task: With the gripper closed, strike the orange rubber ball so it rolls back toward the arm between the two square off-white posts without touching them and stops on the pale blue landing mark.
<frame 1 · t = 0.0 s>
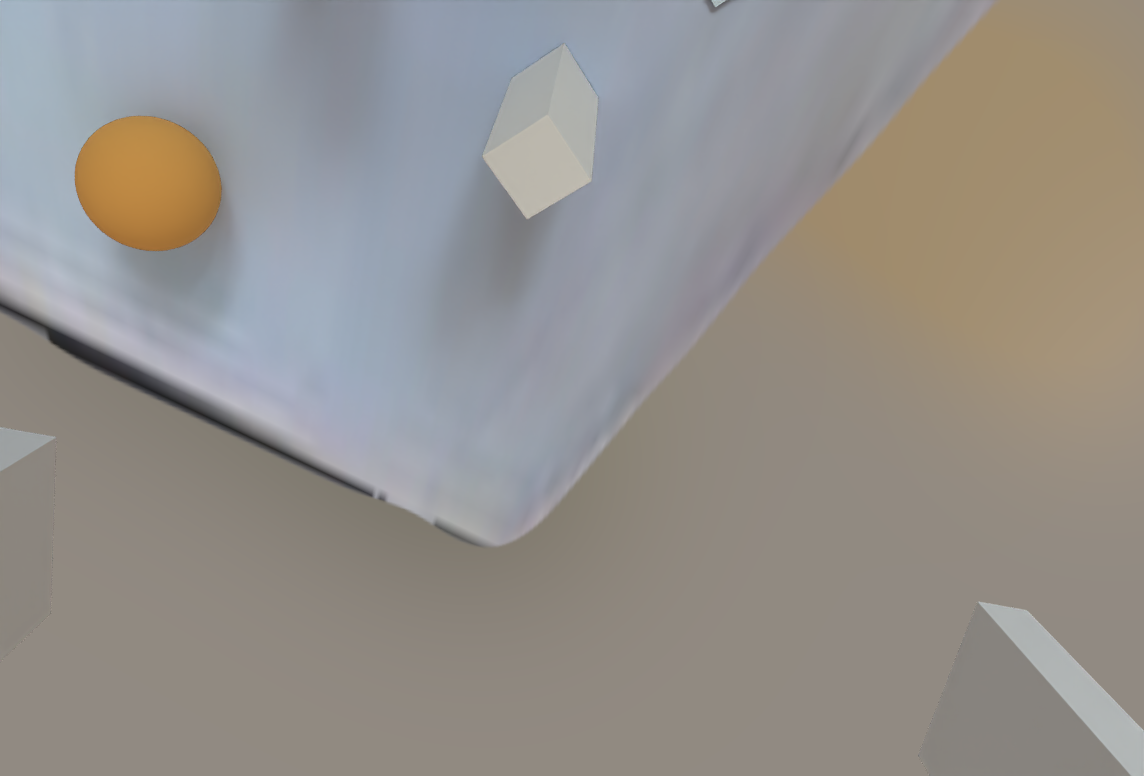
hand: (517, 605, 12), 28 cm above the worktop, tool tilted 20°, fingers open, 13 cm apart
ball: (150, 184, 36), on the worktop
post 2: (555, 88, 35), on the worktop
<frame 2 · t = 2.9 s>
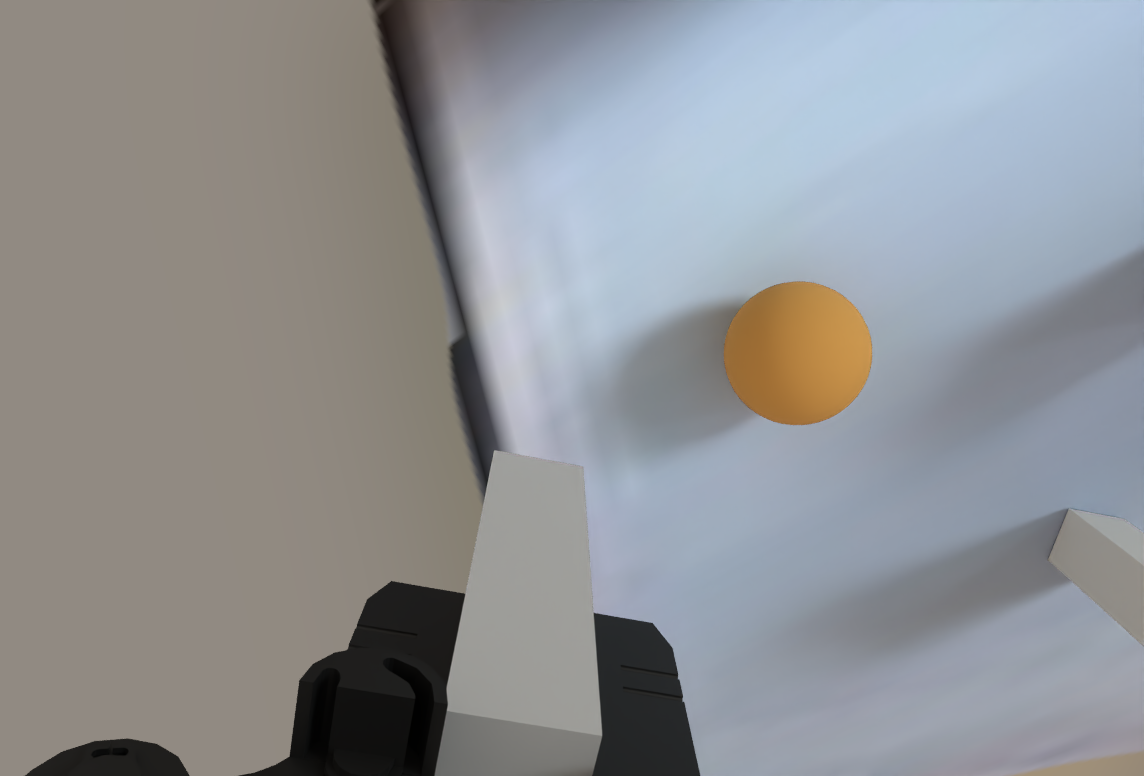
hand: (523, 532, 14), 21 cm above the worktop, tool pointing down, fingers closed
ball: (796, 353, 33), on the worktop
post 2: (1085, 539, 38), on the worktop
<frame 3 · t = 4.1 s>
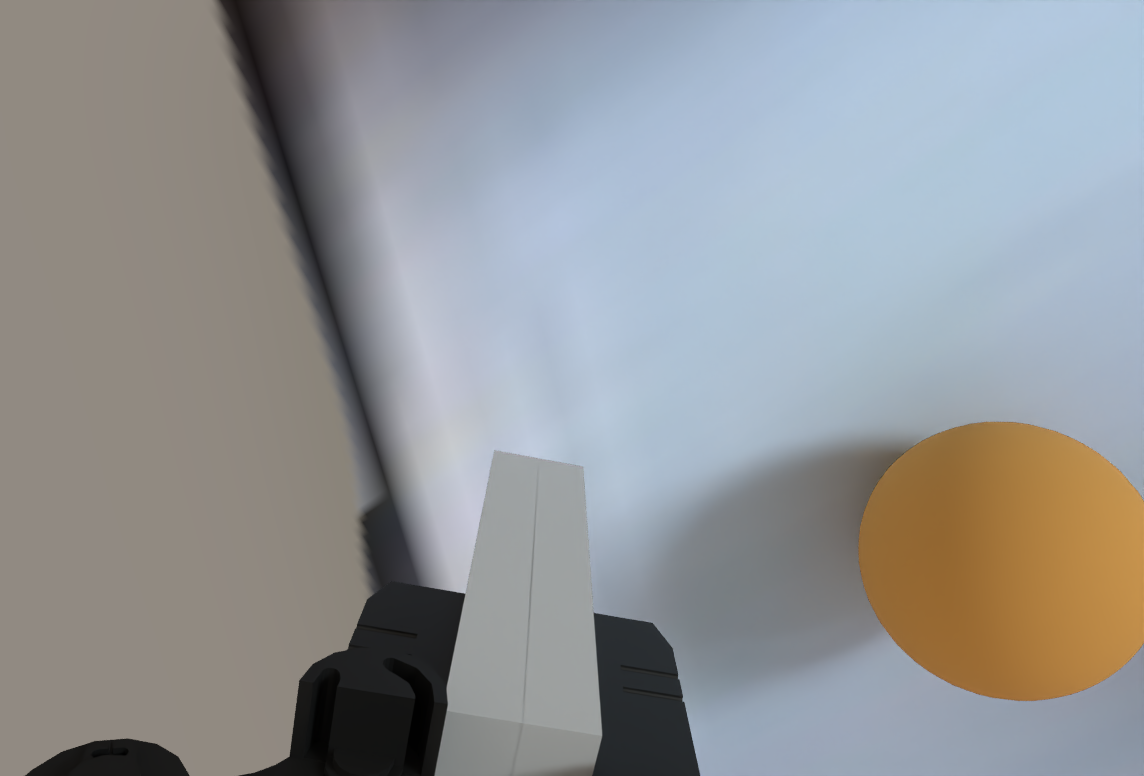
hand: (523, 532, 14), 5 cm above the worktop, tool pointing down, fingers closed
ball: (1000, 556, 17), on the worktop
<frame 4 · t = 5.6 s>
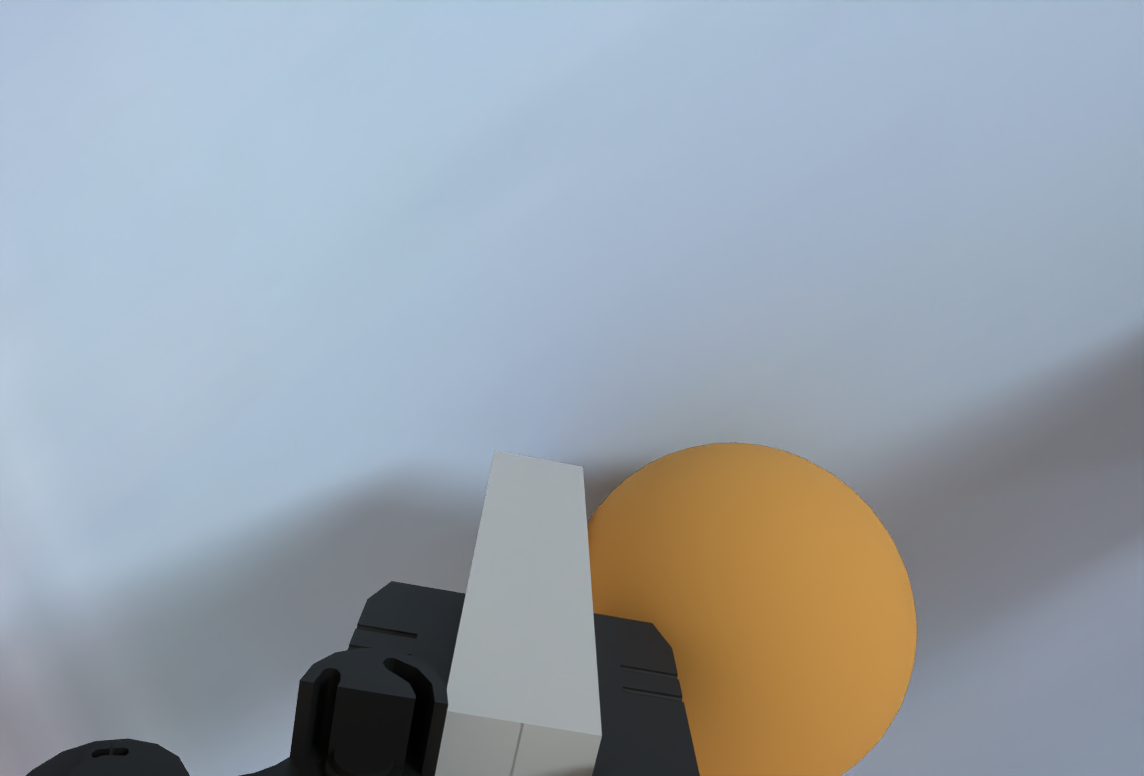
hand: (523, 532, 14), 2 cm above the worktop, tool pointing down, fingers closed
ball: (732, 613, 14), on the worktop
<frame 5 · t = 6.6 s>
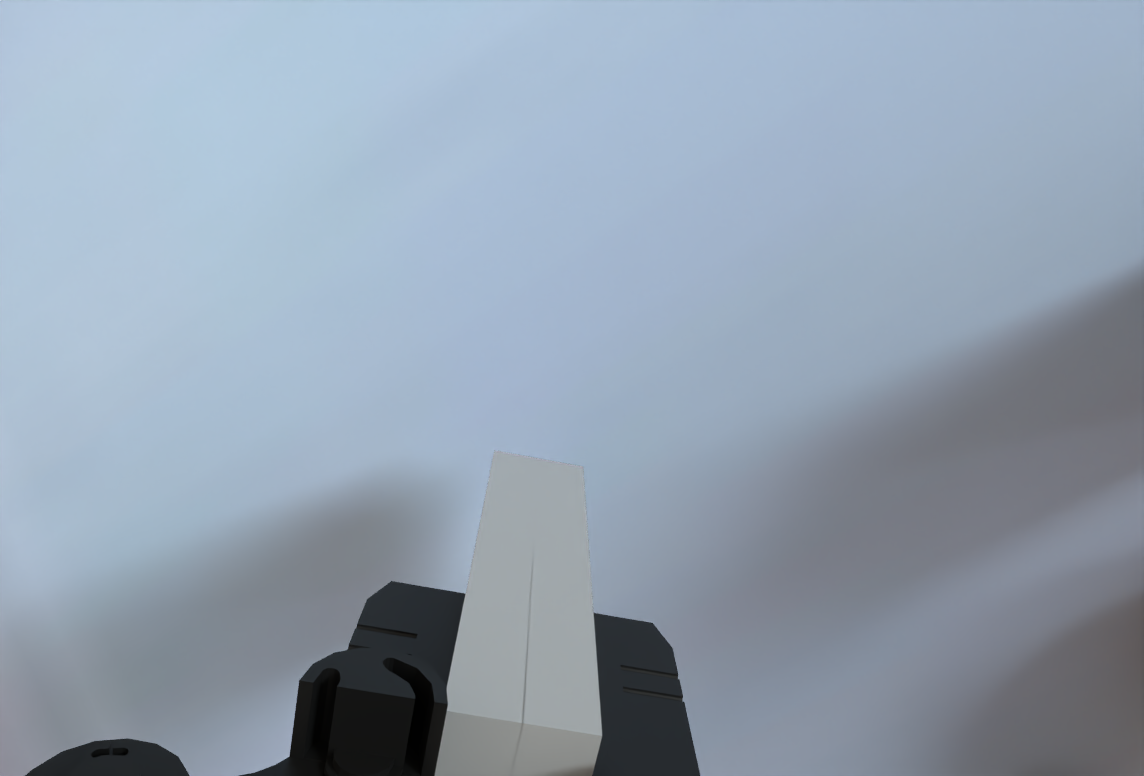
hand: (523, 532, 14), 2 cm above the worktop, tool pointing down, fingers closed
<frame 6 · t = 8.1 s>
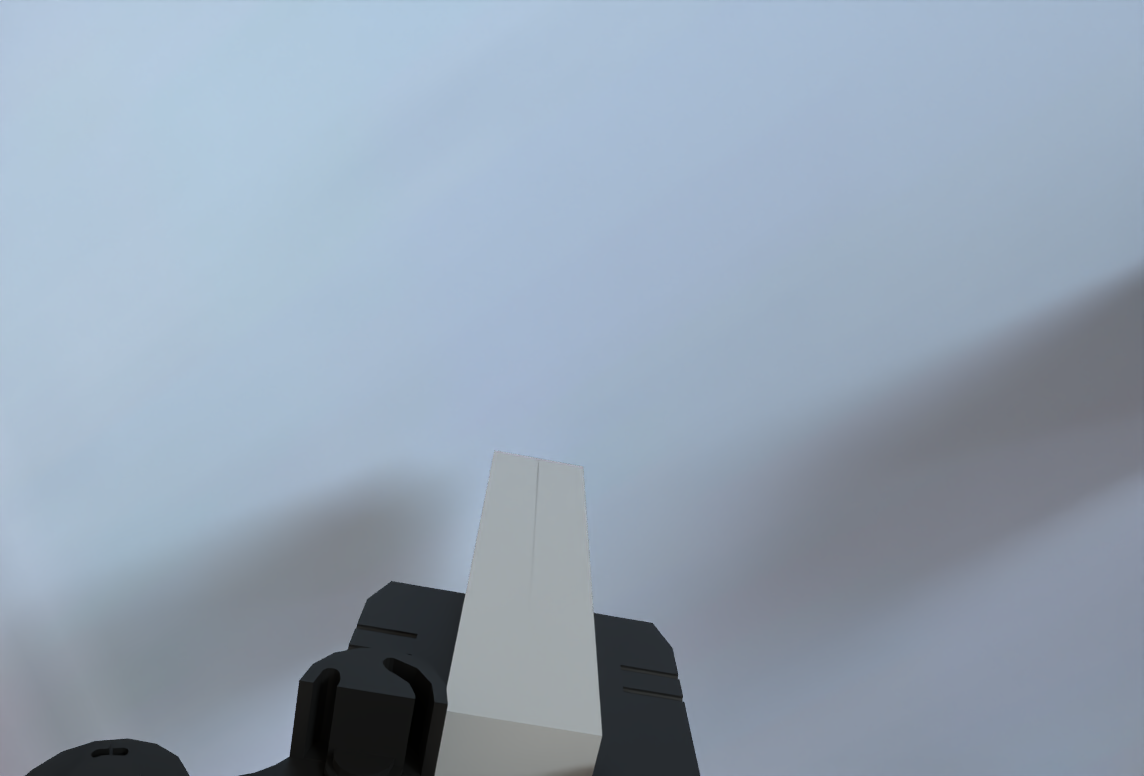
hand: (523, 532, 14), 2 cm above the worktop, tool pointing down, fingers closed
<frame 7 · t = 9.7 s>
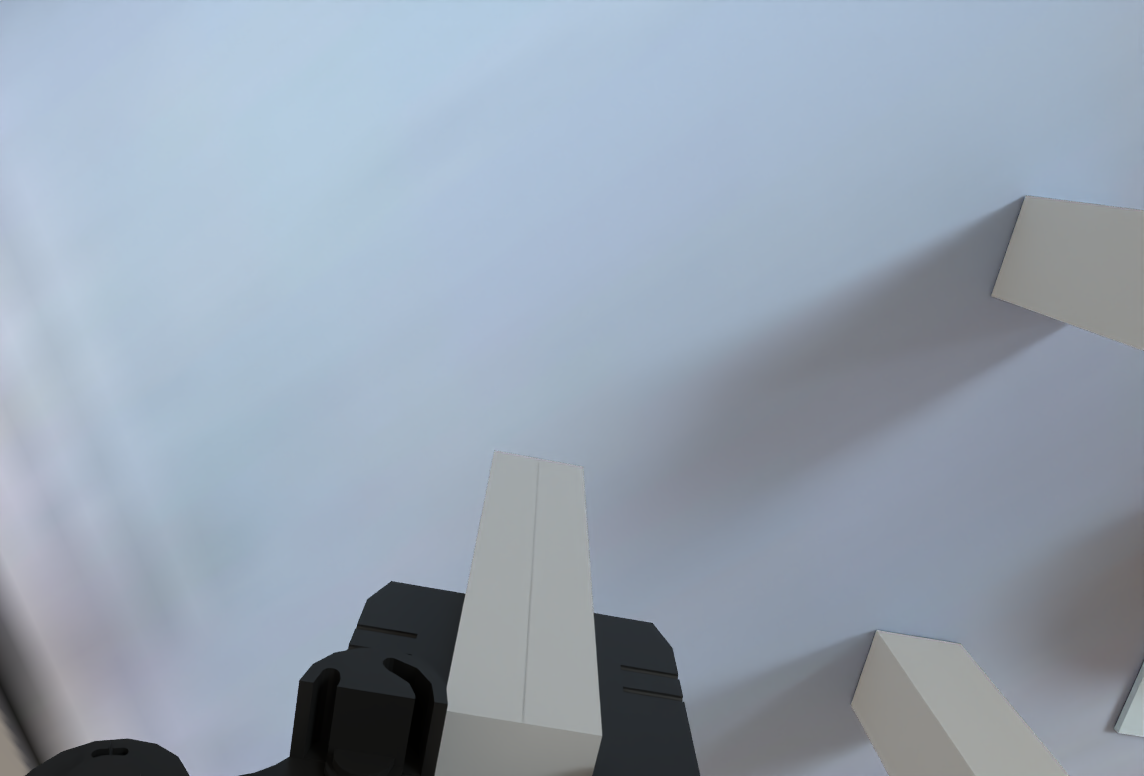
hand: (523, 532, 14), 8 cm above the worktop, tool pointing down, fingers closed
post 2: (905, 674, 25), on the worktop
post 1: (1055, 256, 22), on the worktop
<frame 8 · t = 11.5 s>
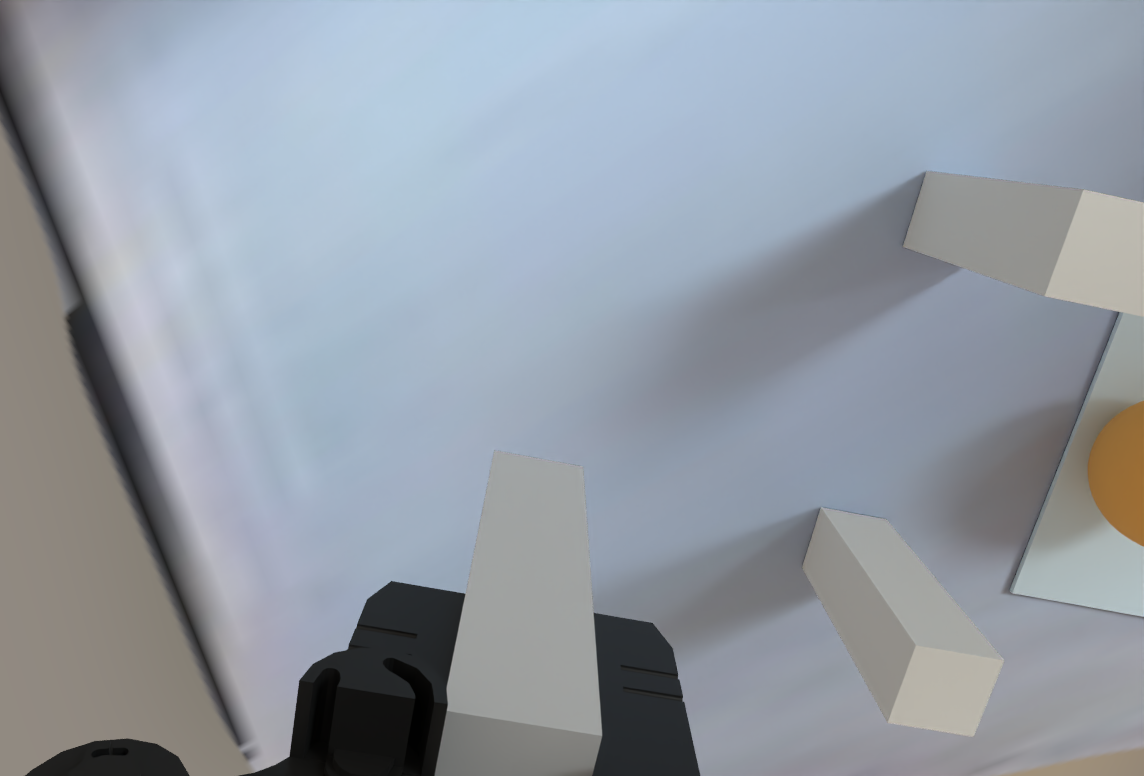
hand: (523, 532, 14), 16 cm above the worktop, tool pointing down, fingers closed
post 2: (843, 543, 33), on the worktop
post 1: (950, 217, 29), on the worktop
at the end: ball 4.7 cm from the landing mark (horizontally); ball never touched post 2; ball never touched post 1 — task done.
